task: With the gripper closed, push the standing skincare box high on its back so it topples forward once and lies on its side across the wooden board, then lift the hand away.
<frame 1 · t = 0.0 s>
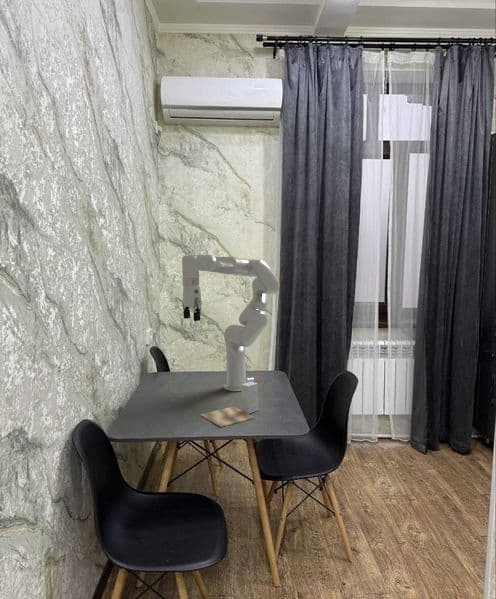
hand: (191, 319, 206), 37 cm above the table, tool pointing down, fingers open, 9 cm apart
wooden board: (227, 416, 184), on the table
skincare box: (250, 411, 191), on the table
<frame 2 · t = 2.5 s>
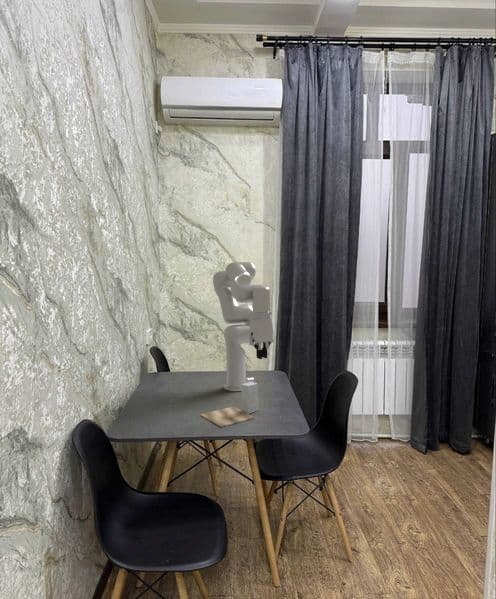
hand: (261, 357, 192), 22 cm above the table, tool pointing down, fingers closed
nothing on the table moved.
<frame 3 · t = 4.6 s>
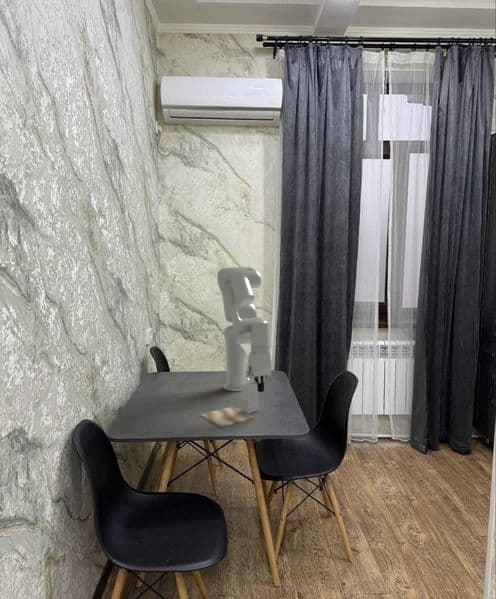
hand: (260, 391, 193), 8 cm above the table, tool pointing down, fingers closed
skincare box: (250, 411, 191), on the table, touching gripper
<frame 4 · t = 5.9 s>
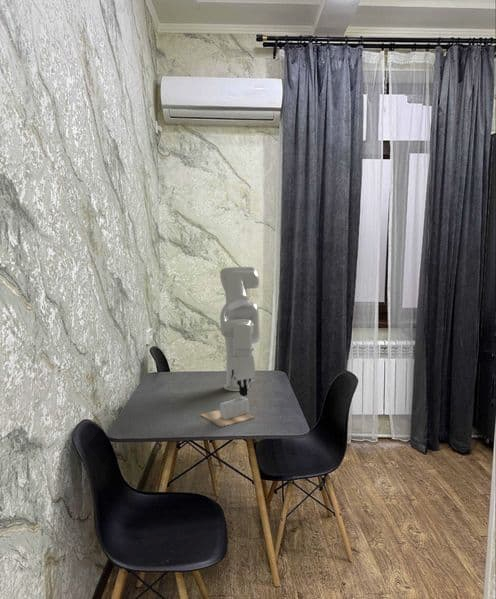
hand: (243, 395, 188), 8 cm above the table, tool pointing down, fingers closed
skincare box: (246, 404, 189), point 3 cm above the table, touching wooden board
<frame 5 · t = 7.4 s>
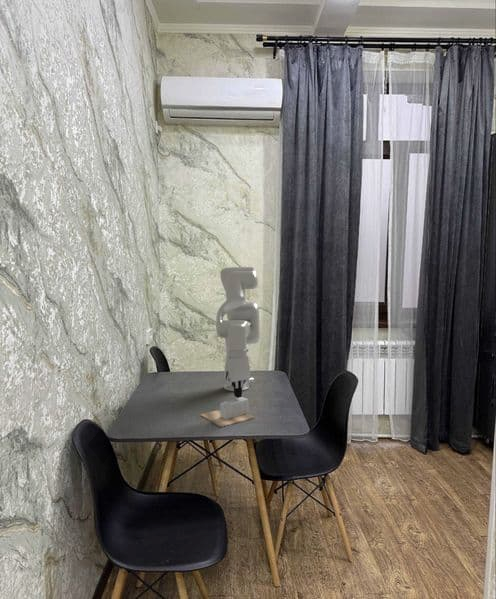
hand: (238, 396, 187), 8 cm above the table, tool pointing down, fingers closed
nothing on the table moved.
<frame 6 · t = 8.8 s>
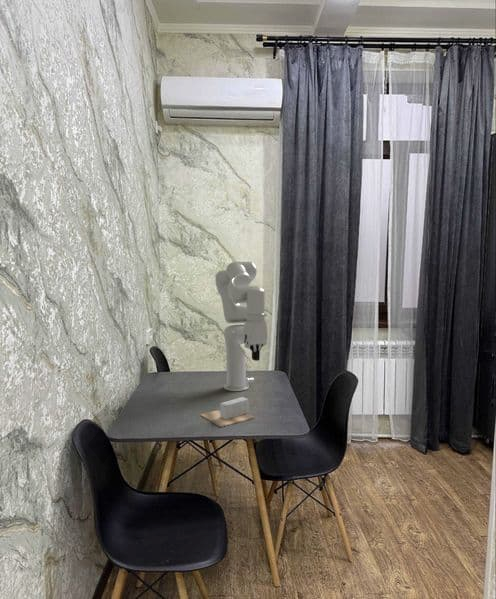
hand: (255, 359, 191), 22 cm above the table, tool pointing down, fingers closed
nothing on the table moved.
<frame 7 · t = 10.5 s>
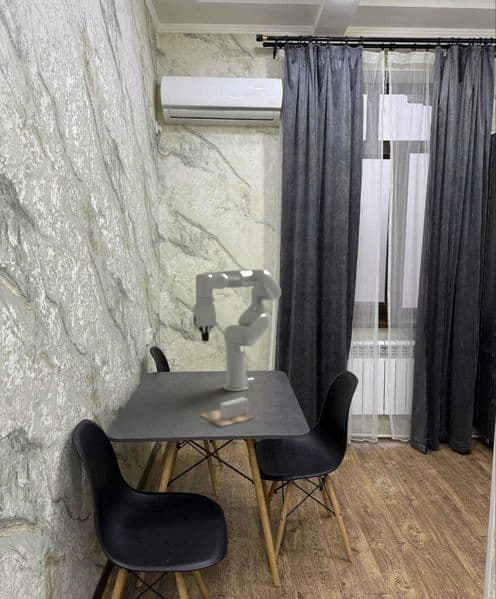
hand: (205, 340, 205), 27 cm above the table, tool pointing down, fingers closed
nothing on the table moved.
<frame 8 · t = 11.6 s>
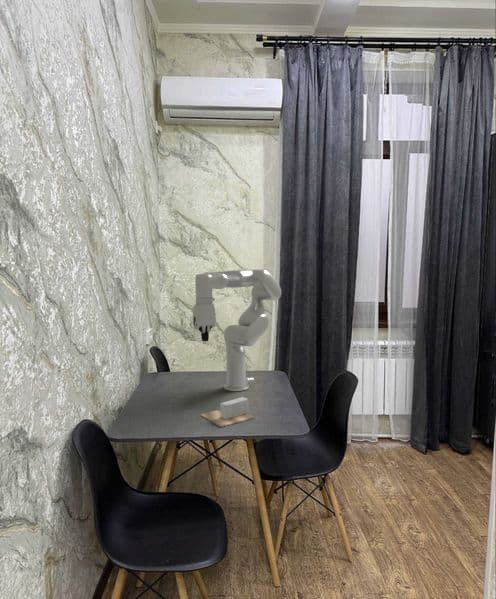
hand: (205, 340, 206), 27 cm above the table, tool pointing down, fingers closed
nothing on the table moved.
at the end: skincare box tilted 89°; skincare box inside the target area (2.1 cm from its centre), point 3.4 cm above the table; skincare box touching wooden board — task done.
